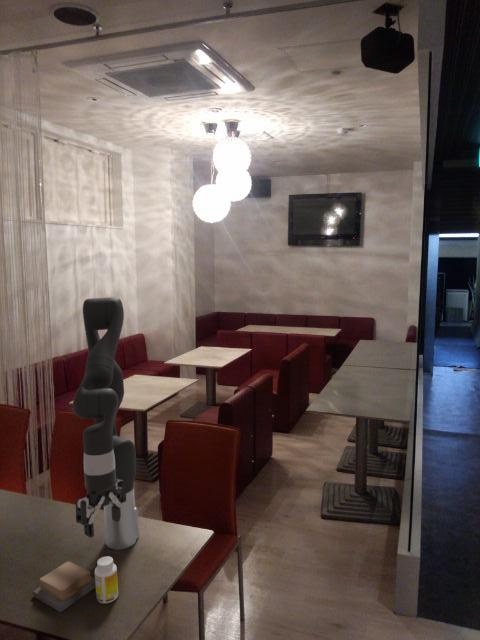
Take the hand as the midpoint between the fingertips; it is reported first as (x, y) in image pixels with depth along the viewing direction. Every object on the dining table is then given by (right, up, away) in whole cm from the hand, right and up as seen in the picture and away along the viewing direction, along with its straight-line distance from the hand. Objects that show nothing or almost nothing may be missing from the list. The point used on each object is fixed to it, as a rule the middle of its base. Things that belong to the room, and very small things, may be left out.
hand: (103, 528), depth 129 cm
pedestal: (-11, -19, +6) cm, 23 cm away
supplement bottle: (0, -19, +3) cm, 19 cm away
